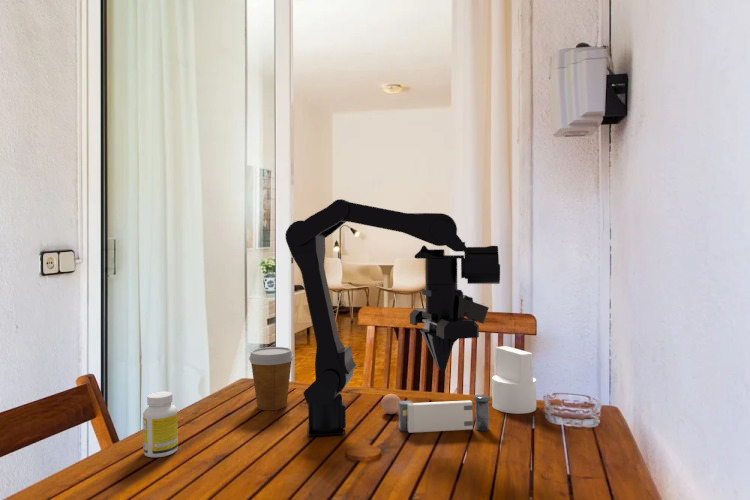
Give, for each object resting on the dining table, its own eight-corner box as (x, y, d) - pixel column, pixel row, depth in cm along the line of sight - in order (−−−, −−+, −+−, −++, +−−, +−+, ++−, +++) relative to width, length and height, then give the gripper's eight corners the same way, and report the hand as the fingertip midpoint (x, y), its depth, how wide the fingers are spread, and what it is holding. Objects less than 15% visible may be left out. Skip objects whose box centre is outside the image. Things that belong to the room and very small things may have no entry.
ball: (386, 397, 106) (375, 409, 108) (402, 409, 106) (390, 421, 108) (391, 386, 110) (380, 398, 111) (406, 398, 110) (395, 410, 111)
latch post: (400, 431, 98) (400, 404, 98) (398, 427, 101) (398, 401, 101) (413, 431, 98) (413, 404, 98) (411, 426, 101) (410, 400, 101)
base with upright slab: (483, 403, 115) (483, 348, 115) (517, 398, 118) (517, 344, 118) (510, 416, 106) (509, 356, 106) (545, 409, 110) (545, 352, 110)
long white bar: (470, 426, 100) (470, 400, 99) (472, 429, 98) (472, 402, 98) (407, 430, 98) (407, 403, 98) (408, 432, 97) (408, 405, 97)
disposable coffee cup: (258, 399, 120) (258, 346, 120) (299, 400, 119) (298, 346, 119) (242, 412, 111) (241, 355, 111) (286, 413, 110) (285, 355, 110)
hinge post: (476, 432, 97) (476, 399, 97) (471, 426, 100) (471, 395, 100) (492, 431, 98) (492, 398, 98) (487, 425, 101) (486, 394, 101)
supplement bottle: (184, 448, 92) (183, 391, 92) (162, 460, 87) (161, 400, 87) (159, 444, 94) (158, 389, 93) (136, 456, 88) (135, 397, 88)
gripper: (507, 286, 89) (507, 379, 89) (461, 279, 107) (461, 356, 107) (445, 288, 86) (445, 384, 86) (408, 280, 104) (409, 360, 104)
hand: (441, 370), depth 96 cm, fingers closed
